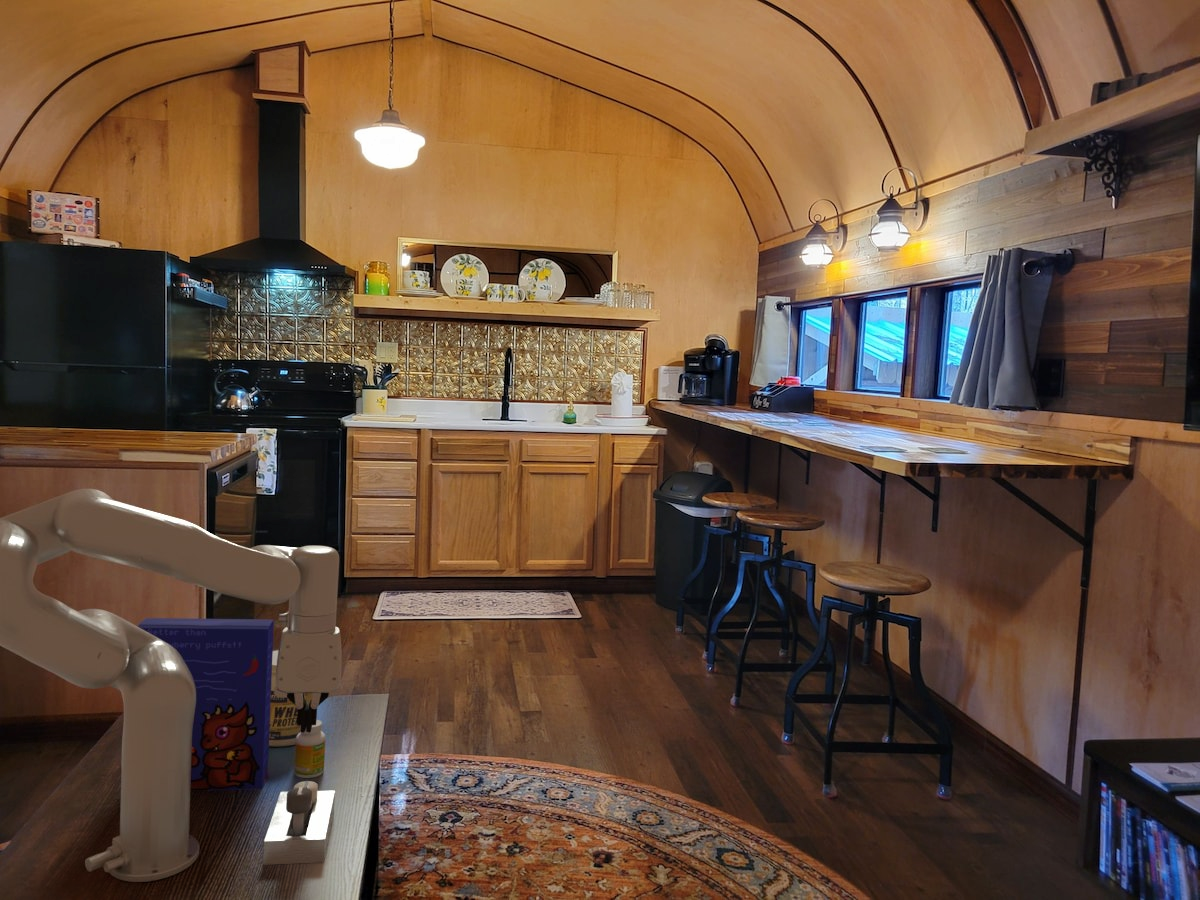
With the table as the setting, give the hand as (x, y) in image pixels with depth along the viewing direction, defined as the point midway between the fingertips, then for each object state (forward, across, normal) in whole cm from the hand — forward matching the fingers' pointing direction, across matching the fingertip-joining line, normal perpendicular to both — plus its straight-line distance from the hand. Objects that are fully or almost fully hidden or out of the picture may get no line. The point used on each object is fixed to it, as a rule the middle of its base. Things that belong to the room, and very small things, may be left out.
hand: (306, 729), depth 145 cm
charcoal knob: (+14, 0, -8) cm, 16 cm away
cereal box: (+17, -19, +18) cm, 31 cm away
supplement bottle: (+17, -1, +20) cm, 26 cm away
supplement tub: (+17, -8, +37) cm, 42 cm away
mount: (+17, 0, -3) cm, 17 cm away
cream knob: (+17, 0, +1) cm, 17 cm away
